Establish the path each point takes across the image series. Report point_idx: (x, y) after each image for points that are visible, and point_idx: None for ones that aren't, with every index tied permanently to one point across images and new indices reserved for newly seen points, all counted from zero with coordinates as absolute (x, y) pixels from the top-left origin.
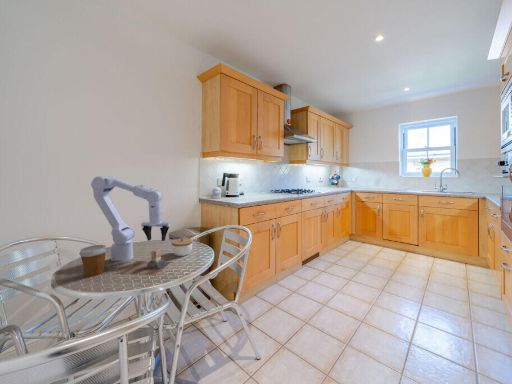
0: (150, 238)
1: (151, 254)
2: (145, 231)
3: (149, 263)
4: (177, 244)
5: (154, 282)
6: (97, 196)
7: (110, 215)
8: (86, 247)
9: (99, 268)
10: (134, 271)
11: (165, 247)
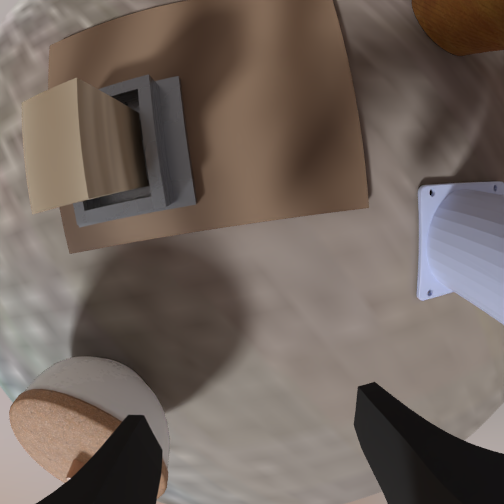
0: (361, 429)
1: (90, 88)
2: (475, 473)
3: (130, 81)
4: (41, 400)
5: (41, 9)
6: None
7: None
8: None
9: None
10: (228, 25)
11: (317, 455)
